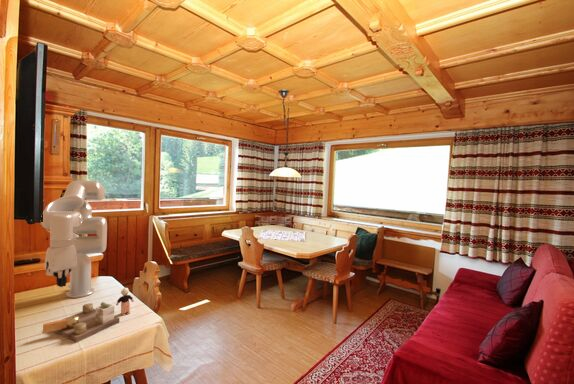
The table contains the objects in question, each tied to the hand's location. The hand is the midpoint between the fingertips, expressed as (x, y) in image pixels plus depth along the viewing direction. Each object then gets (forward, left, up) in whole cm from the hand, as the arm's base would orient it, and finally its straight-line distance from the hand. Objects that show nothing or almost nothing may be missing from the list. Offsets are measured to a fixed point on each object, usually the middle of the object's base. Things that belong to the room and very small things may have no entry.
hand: (61, 285), depth 121 cm
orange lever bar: (+4, -2, -17) cm, 17 cm away
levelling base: (+5, +6, -19) cm, 21 cm away
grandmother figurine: (+10, +22, -19) cm, 31 cm away
